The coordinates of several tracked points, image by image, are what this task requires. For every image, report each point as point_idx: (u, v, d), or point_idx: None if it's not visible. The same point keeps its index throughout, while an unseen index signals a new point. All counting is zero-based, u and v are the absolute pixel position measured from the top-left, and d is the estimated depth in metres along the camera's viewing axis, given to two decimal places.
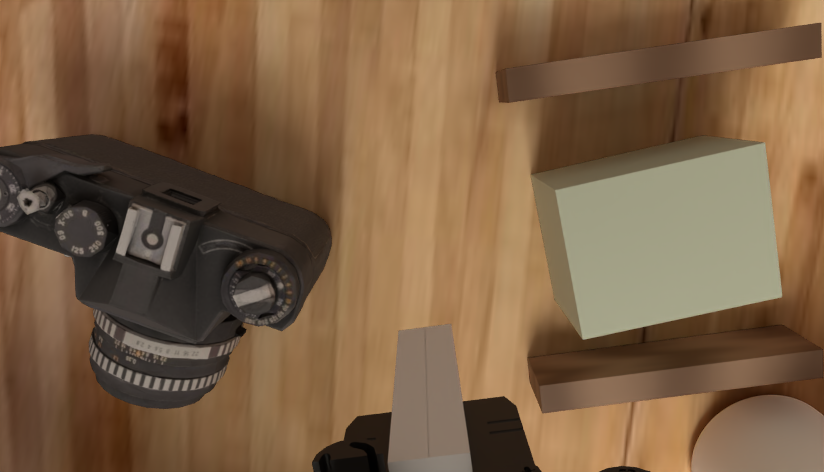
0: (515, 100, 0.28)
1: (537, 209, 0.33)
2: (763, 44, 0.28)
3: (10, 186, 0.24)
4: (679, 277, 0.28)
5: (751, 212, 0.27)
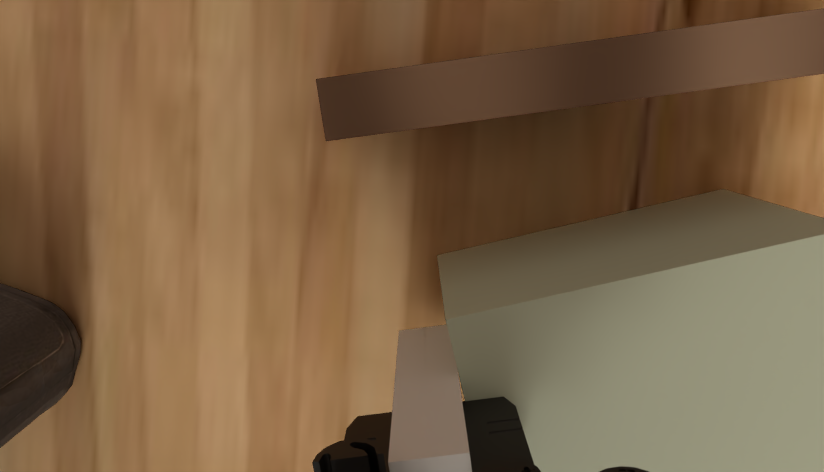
0: (337, 137, 0.15)
1: None
2: (796, 36, 0.15)
3: None
4: None
5: None
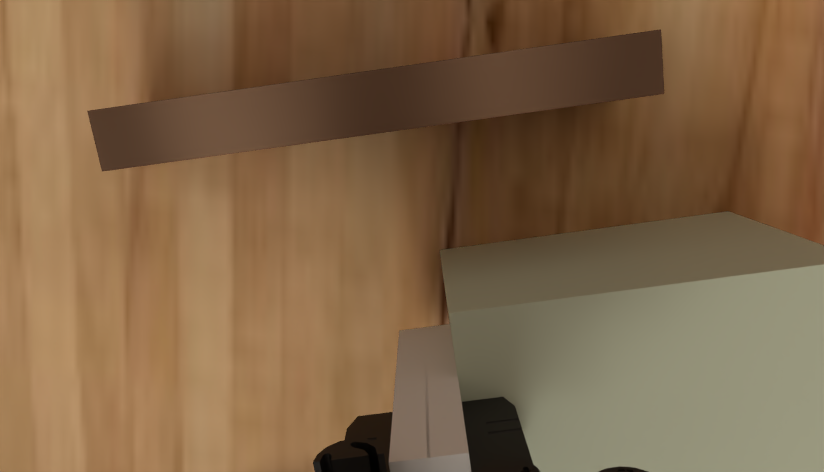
0: (113, 167, 0.16)
1: (447, 308, 0.20)
2: (556, 68, 0.15)
3: None
4: None
5: (819, 385, 0.14)
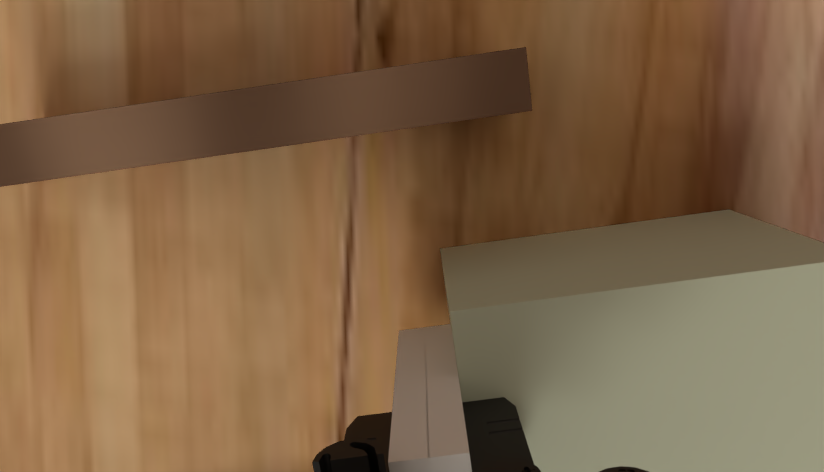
0: None
1: None
2: (424, 86, 0.15)
3: None
4: None
5: (821, 383, 0.14)
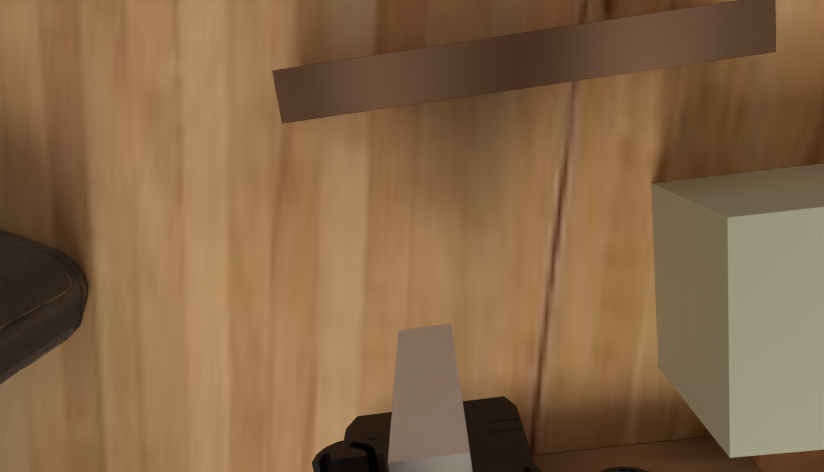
0: (291, 120, 0.18)
1: (654, 235, 0.22)
2: (681, 30, 0.17)
3: None
4: None
5: None
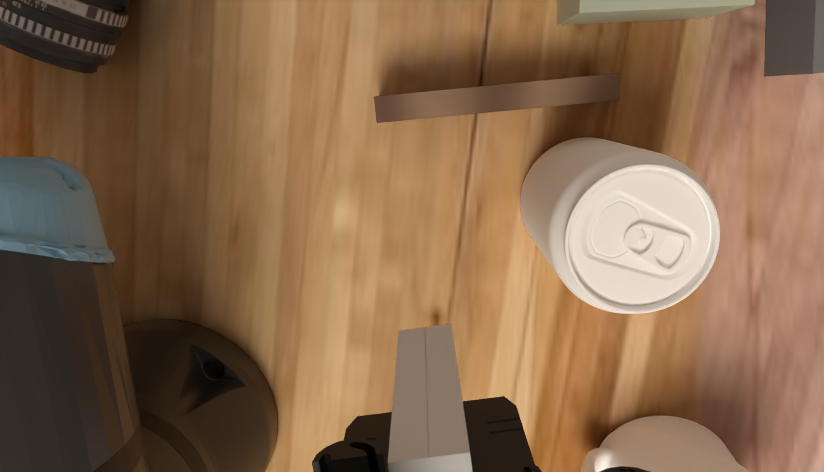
0: None
1: None
2: None
3: None
4: None
5: None
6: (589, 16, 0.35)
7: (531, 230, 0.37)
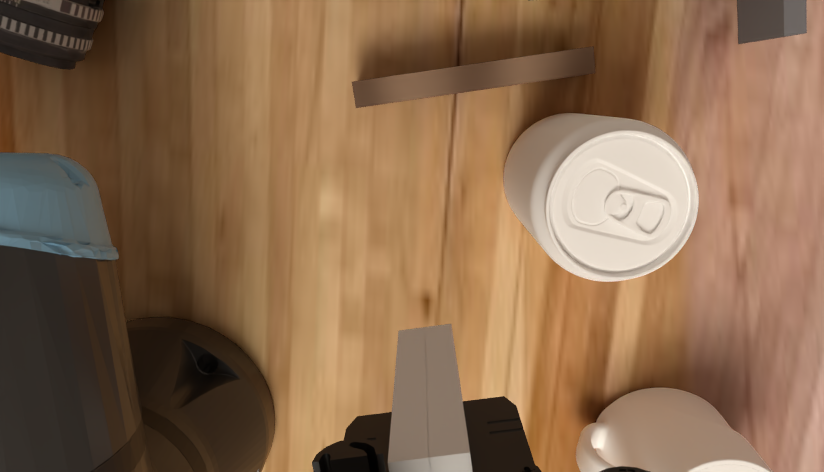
0: None
1: None
2: None
3: None
4: None
5: None
6: None
7: (515, 207, 0.37)
